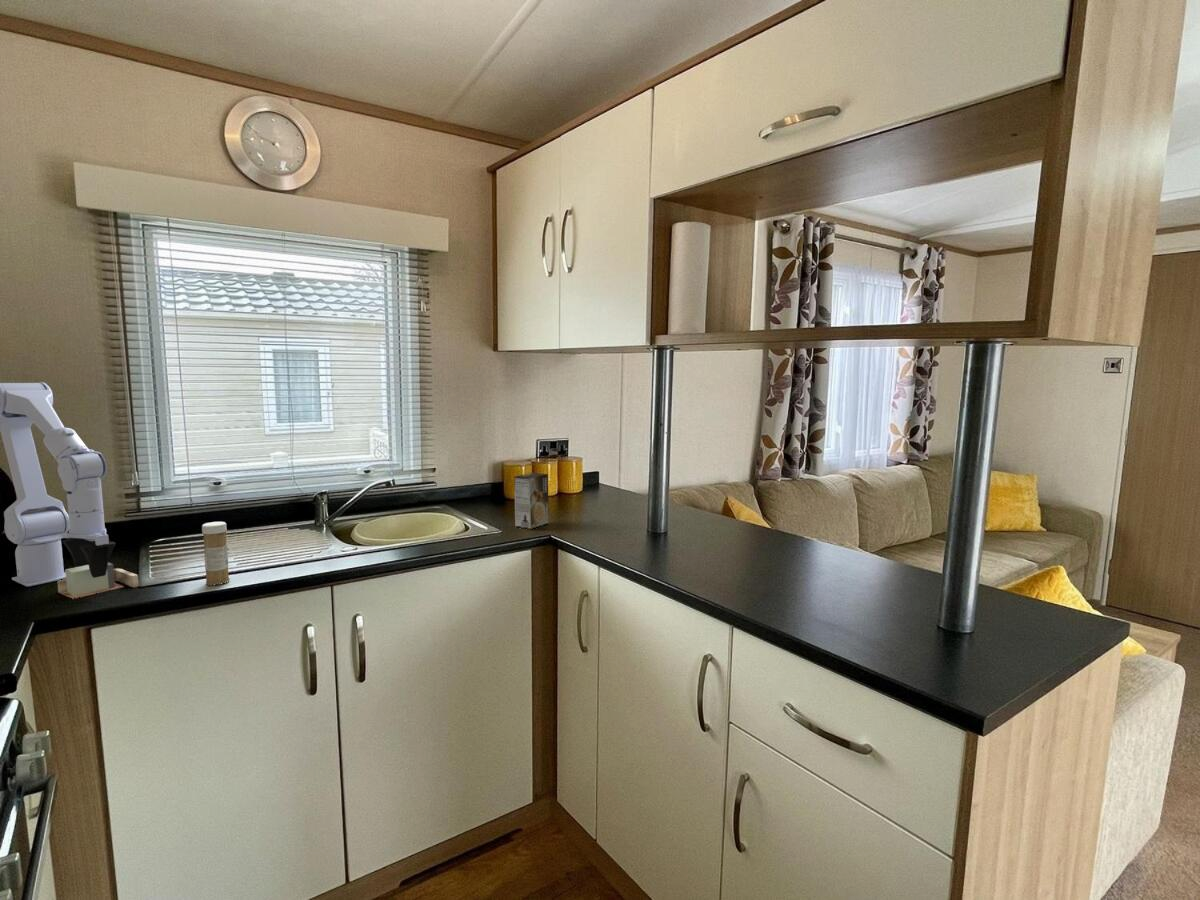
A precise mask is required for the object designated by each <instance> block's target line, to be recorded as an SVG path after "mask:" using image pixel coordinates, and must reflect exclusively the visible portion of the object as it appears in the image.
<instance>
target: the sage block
mask: <svg viewBox="0 0 1200 900" xmlns="http://www.w3.org/2000/svg"><path fill="white" fill-rule="evenodd" d="M114 569H115V568H114V564H113V563H111V562H109V561H108V566H107V571H106V575H105V576H100V577H96V578H93V577H92V575H91V572H90V569H89V565H85V566H80V567H76V566H75V567H71V568H66V569H65V570H64V572H65V573H66V583H67V593H69V594H71V595H73V596H78V595H82V594H86V593H91V592H95V591H100V590H104V589H108V588H113V587H115V583H116V581H115V580H114Z"/></svg>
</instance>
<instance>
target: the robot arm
mask: <svg viewBox="0 0 1200 900" xmlns="http://www.w3.org/2000/svg"><path fill="white" fill-rule="evenodd" d="M53 404H54V396H53V390H52V388H51V386H49V385H48V384H47V383H46V382H44V381H43V382H42V381H39V382H0V435H1V440H2V443H3V446H4V450H5V454H6V458H7V462H8V465H9V466H8V467H9V471H10V474H11V479H12V482H13V485H14V490H15V494H16V500H15V501H14V502H13V503H11V505H9V506H8V507H7V508H6V509H5V510H4V511H3V517H4V528H3V529H4V532H5V536H6V538H7V539H8V540H9V541H10V542H11V543H13V544H15V545H17V546H16V548H15V551H14V556H15V565H16V575H17V576H14V577H13V576H12V577H11V580H12V581H14V582H16V583H18V584H21V585H23V586H25V587H32V586H38V585H43V584H47V583H51V582H56V581H60V580H61V579H62V580H64V579H66V572H65V570H64V567H65V566H64V558H63V547H62V544H64V547H66V549H67V551H69V553H70V555H71V558H72V561H73V563H74V566H75V567H80V566H85V565H89V569H90V572H91V575H92V577H93V578H96V577H100V576H105V575H106V571H107V566H108V562H109V561H110V557H111V555H112V553H113V550H114V548H115V547H116V542H114V541H110V539H109V534H107V528H106V526H105V515H104V512H105V511H104V501H103V489H102V479H103V478H104V477H105V476H106V474H107V471H108V470H107V469H108V468H107V462H106V458H105V457H104V456H103V454H102V453H101V452H100V451H95V450H94V449H90V448H89V447H88V446H87V445H86V444H85V442H84V441H83V440H82V439H81V437H80V436H79V435H78V434H77V432H76V431H75V429H73V428H70V427H65V426H64V424H63V422H62V421H61V419H60V417H59V416H58V413H57V411H56V410H55V409H54V407H53ZM33 424H34V425H35V426H36V427H37V428H38V430H40V432H41V433H43V435H44V438H43V445H44V446H45V447H46V449H47V450H48V451H49V453H50V454H51V455H52V456H53V458H54V460H55V461H56V463H58V466H57V473H58V476H59V478H60V480H61V483H62V484H61V485H62V488H63V490H64V491H65V492H66V500H67V511H68V512H67V511H66V509H65V506H64V503H63V502H62V500H60V499H57V498H55V497H52V496H51V495H49V494H48V493H47V488H46V484H45V480H44V477H43V473H42V469H41V465H40V461H39V456H38V454H37V449H36V445H35V441H34V437H33V434H32V429H31V427H32V425H33ZM62 539H64V540H62Z"/></svg>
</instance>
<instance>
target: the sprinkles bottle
mask: <svg viewBox="0 0 1200 900" xmlns="http://www.w3.org/2000/svg"><path fill="white" fill-rule="evenodd" d="M227 531H228V529H227V523H226V522H225V521H212V522H205V523H203V524H202V525H201V532H202V535H203V547H204V548H203V549H204V550H203V551H204V569H205V570H204V571H205V577H206V578H205V579H206V580H205V584H206V585H207V584H208V586H215V585H214V584H221V583H225V582H227V581H228V582H230V577H229V553H228V543H227V541H228V540H227ZM228 582H227V583H228ZM225 584H226V583H225ZM221 585H222V584H221Z"/></svg>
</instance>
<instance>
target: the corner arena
mask: <svg viewBox="0 0 1200 900" xmlns="http://www.w3.org/2000/svg"><path fill="white" fill-rule="evenodd" d="M114 580H115V587H113V588H108V589H104V590H100V591H95V592H91V593H86V594H82V595H78V596H73V595H71V594H69V593H67V583H66V579H62V580H57V582H56V583H57V592H58V593H59V594H61V595H63V596H65V597H67V598H69V597H70V598H69V599H71V598H72V600H75V599H79V597H80V598H84V597H88V596H92V595H96V593H97V594H101V593H105V592H108V591H109V590H110V591H112V590H118V589H121V588H125V586H124V585H126V586H128V587H131V588H136V587H137V588H138V587H140V585H139V584H140V583H139V575H138V574H136V573H133V572H130V571H127V570H125V569H123V568H119V567H117V568H114ZM118 581H119V583H121V584H119V583H116V582H118ZM123 583H124V584H123ZM122 584H123V585H122ZM110 591H109V592H110ZM74 598H75V599H74Z"/></svg>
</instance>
